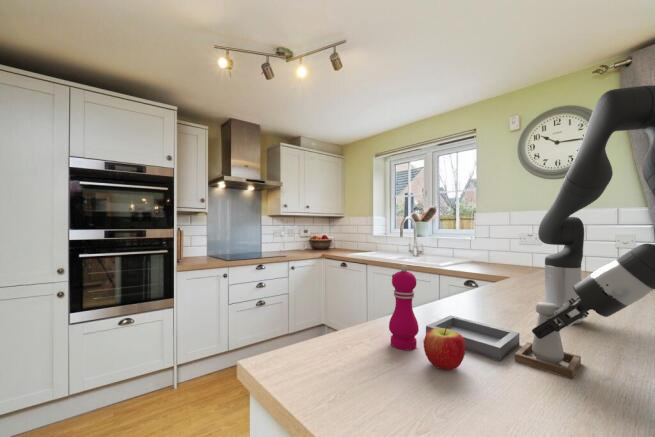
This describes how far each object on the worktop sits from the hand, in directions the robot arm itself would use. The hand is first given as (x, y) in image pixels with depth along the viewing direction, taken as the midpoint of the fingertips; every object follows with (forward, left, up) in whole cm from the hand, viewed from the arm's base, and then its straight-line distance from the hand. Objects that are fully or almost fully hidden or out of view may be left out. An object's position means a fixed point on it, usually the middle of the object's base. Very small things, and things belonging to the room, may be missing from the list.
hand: (540, 330), depth 66 cm
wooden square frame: (0, +1, -7) cm, 7 cm away
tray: (+1, -15, -7) cm, 16 cm away
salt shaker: (0, +1, -7) cm, 7 cm away
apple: (+20, -13, -7) cm, 25 cm away
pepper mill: (+17, -25, -7) cm, 31 cm away
